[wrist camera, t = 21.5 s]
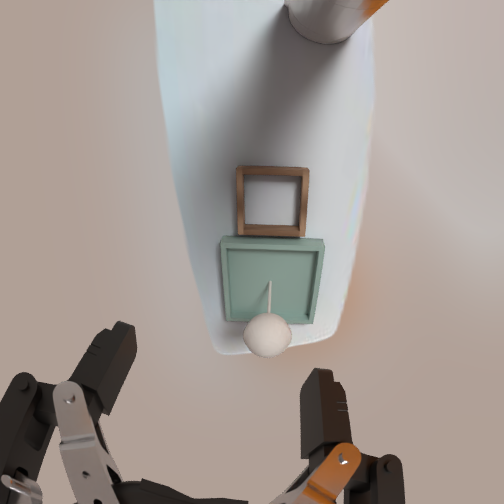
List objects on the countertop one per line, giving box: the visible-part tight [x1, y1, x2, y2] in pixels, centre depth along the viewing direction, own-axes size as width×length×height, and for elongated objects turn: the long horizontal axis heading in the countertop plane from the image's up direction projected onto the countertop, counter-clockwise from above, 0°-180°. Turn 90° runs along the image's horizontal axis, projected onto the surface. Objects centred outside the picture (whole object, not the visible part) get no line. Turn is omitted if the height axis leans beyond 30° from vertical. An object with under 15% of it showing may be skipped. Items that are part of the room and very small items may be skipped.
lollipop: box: [243, 281, 292, 358], centre depth 38 cm, size 6×6×15 cm
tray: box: [220, 236, 325, 324], centre depth 44 cm, size 15×15×2 cm
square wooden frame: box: [236, 166, 309, 237], centre depth 37 cm, size 10×10×2 cm
